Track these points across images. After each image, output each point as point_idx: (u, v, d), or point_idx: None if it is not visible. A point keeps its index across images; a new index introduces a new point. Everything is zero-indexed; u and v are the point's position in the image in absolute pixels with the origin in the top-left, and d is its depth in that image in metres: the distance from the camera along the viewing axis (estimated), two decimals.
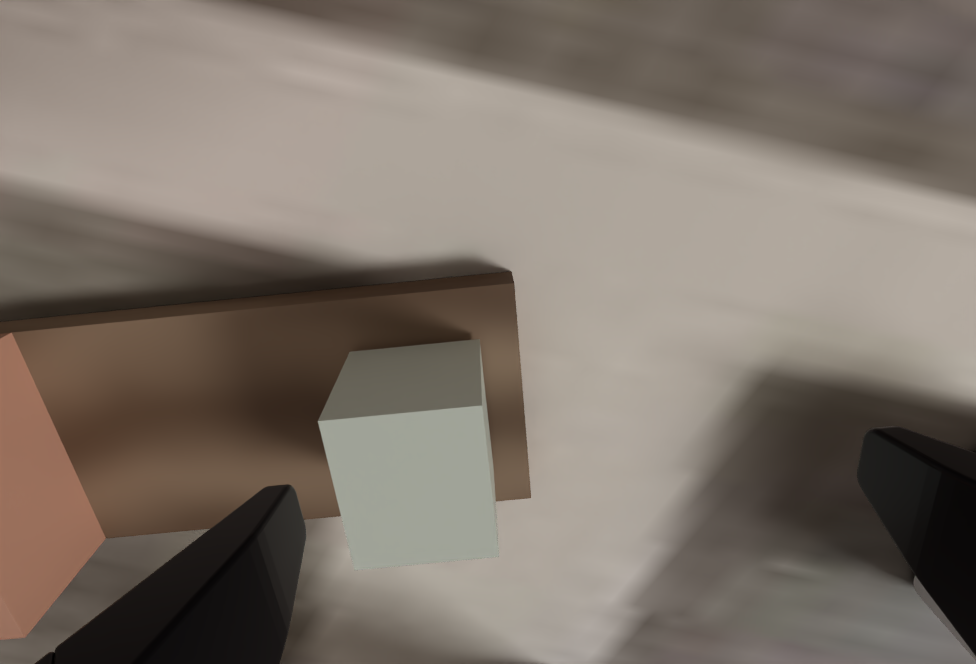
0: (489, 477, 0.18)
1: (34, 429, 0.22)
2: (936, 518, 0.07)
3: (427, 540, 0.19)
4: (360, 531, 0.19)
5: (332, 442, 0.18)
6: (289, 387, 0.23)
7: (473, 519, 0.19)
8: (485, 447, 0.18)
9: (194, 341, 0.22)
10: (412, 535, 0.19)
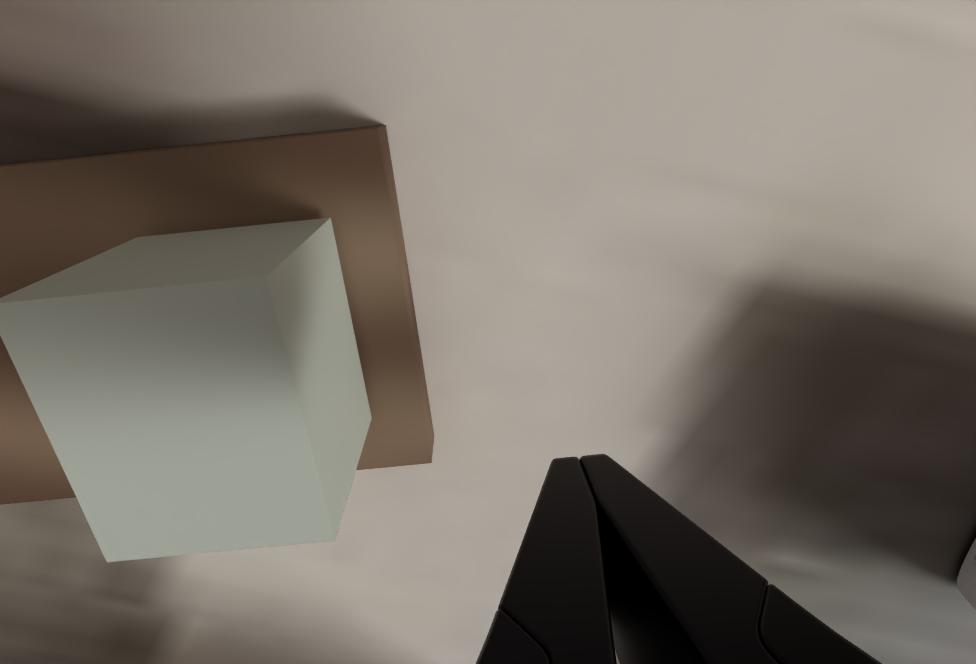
0: (300, 408, 0.11)
1: None
2: None
3: (214, 514, 0.12)
4: (102, 499, 0.12)
5: (20, 344, 0.10)
6: None
7: (283, 479, 0.12)
8: (283, 354, 0.11)
9: None
10: (189, 505, 0.12)
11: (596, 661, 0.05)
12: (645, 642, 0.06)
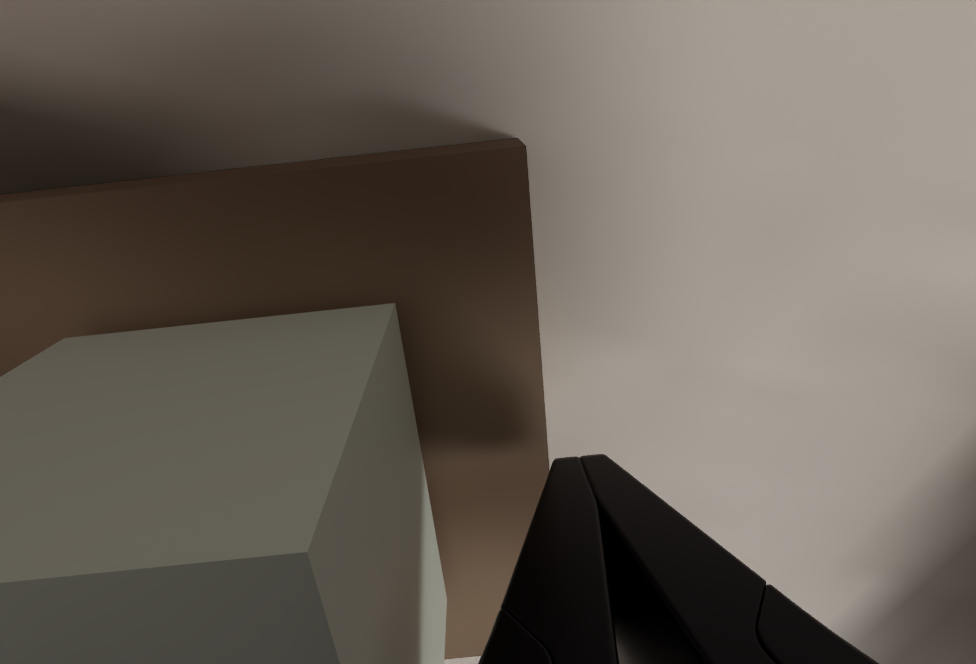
0: None
1: None
2: None
3: None
4: None
5: None
6: None
7: None
8: None
9: None
10: None
11: (598, 660, 0.05)
12: (643, 642, 0.06)
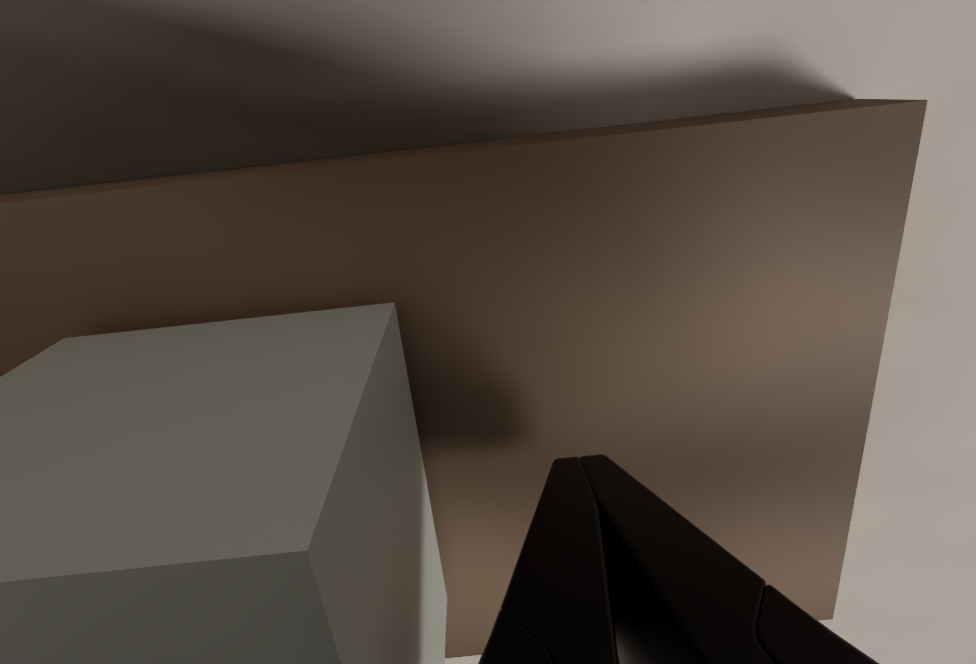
0: None
1: None
2: None
3: None
4: None
5: None
6: None
7: None
8: None
9: (77, 269, 0.08)
10: None
11: (599, 660, 0.05)
12: (643, 642, 0.06)
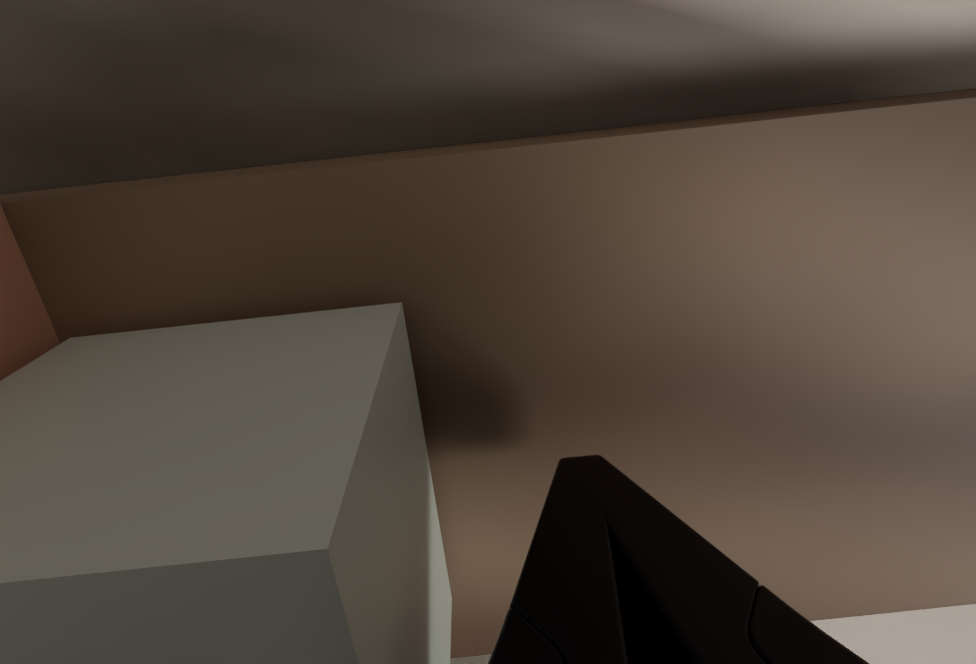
0: None
1: None
2: None
3: None
4: None
5: None
6: (681, 349, 0.09)
7: None
8: None
9: (475, 227, 0.08)
10: None
11: (609, 659, 0.05)
12: (637, 643, 0.06)
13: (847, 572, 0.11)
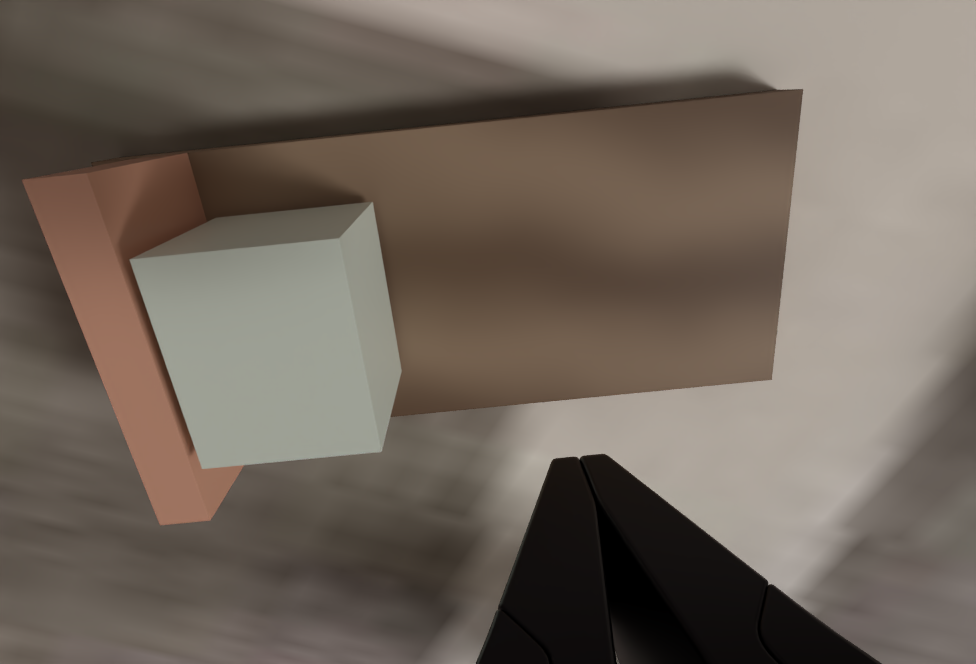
0: (359, 342, 0.15)
1: None
2: None
3: (288, 429, 0.15)
4: (203, 415, 0.15)
5: (152, 290, 0.14)
6: (510, 230, 0.19)
7: (343, 400, 0.15)
8: (349, 298, 0.14)
9: (405, 166, 0.18)
10: (270, 421, 0.15)
11: (596, 661, 0.05)
12: (645, 642, 0.06)
13: (617, 364, 0.21)
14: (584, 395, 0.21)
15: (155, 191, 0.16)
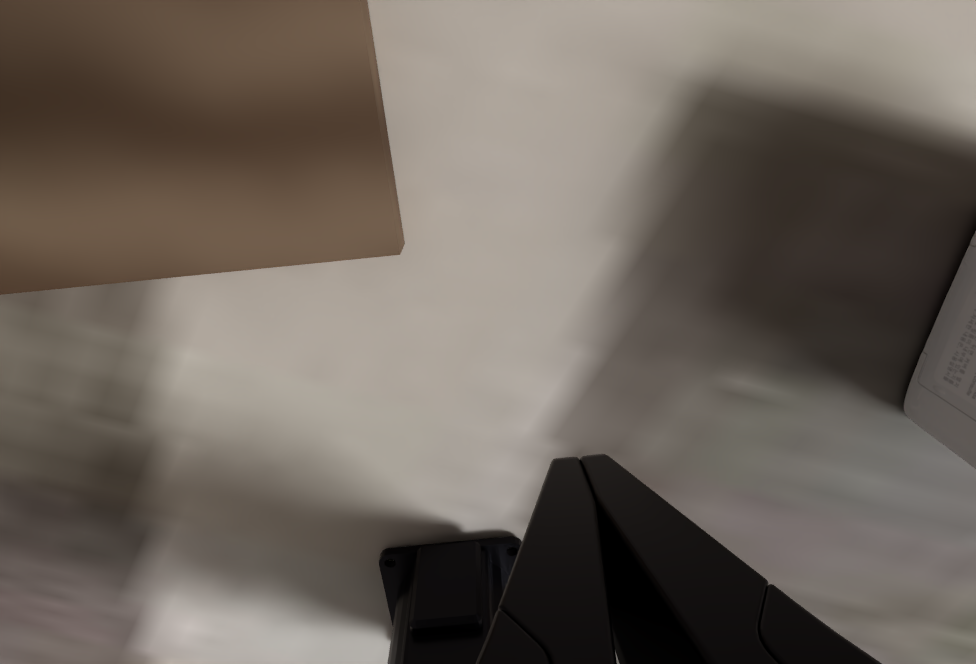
0: None
1: None
2: None
3: None
4: None
5: None
6: (53, 69, 0.17)
7: None
8: None
9: None
10: None
11: (596, 661, 0.05)
12: (645, 642, 0.06)
13: (221, 235, 0.19)
14: (194, 271, 0.19)
15: None
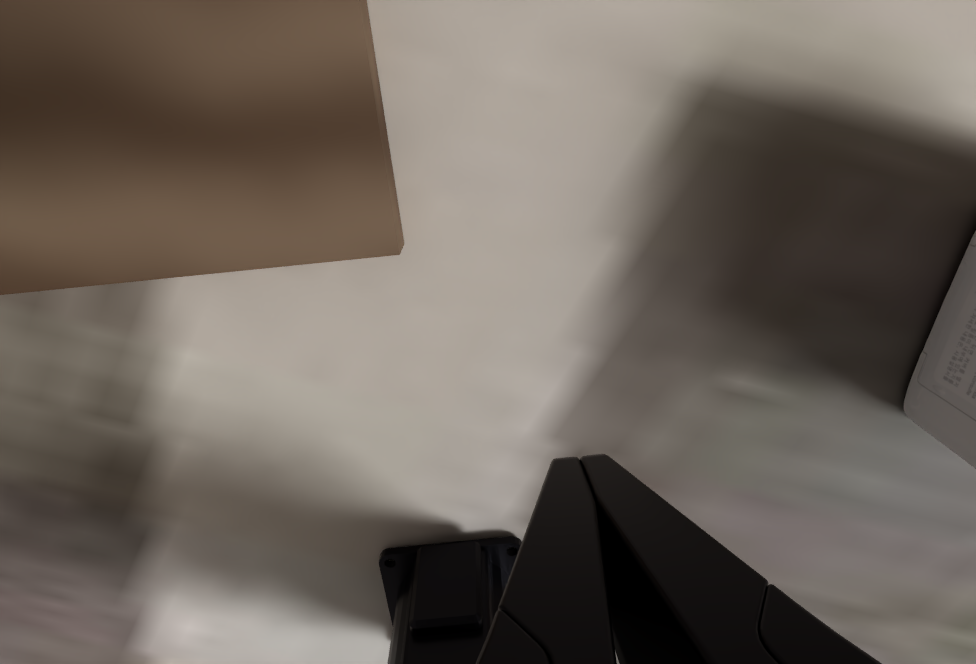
0: None
1: None
2: None
3: None
4: None
5: None
6: (52, 69, 0.17)
7: None
8: None
9: None
10: None
11: (596, 661, 0.05)
12: (645, 642, 0.06)
13: (220, 235, 0.19)
14: (193, 271, 0.19)
15: None
